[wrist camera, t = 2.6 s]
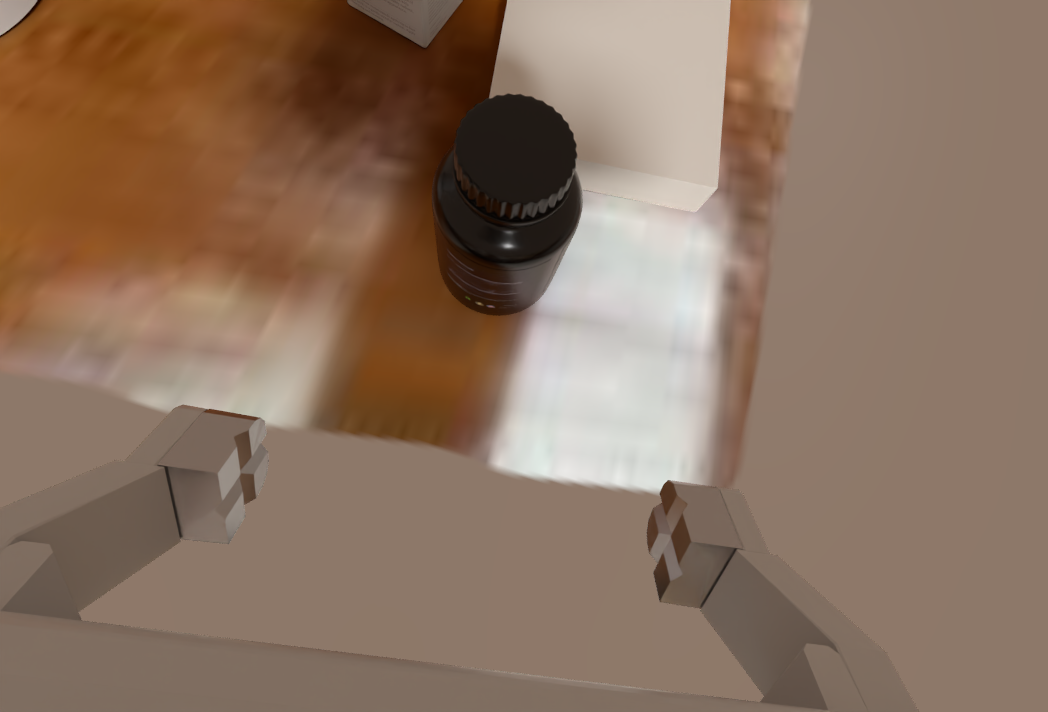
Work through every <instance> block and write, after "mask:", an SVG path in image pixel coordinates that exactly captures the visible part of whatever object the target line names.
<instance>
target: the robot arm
mask: <svg viewBox="0 0 1048 712" xmlns="http://www.w3.org/2000/svg"><path fill="white" fill-rule="evenodd" d="M36 2H37V0H0V35H2V34H3V33H5V32H6V31H8V30H9V29H10V28H12V27H13V26H14V25H15V24H17V23H18V22H19V21H20V20H21V19H22V18H23V17H24V16H25V15H26V14H27V13H28V12H29V11H30V10H31V8H32V7H33V6H34V5H35V3H36ZM265 436H266V426H265V421H264V420H263V419H261V418H258V417H253V416H247V415H241V414H236V413H230V412H224V411H219V410H213V409H204V408H198V407H193V406H187V405H181V406H178V407H176V408H174V409H173V410H172V411H171V412H170V413H169V414H168V416H167V417H166V418H165V419H164V420H163V421H162V422H161V423H160V424H159V425H158V426H157V427H156V428H155V429H154V430H153V431H152V432H151V434H149V435H148V437H147V438H146V439H145V440H144V441H143V442H142V443H141V444H140V445H139V446H138V447H137V448H136V449H135V450H134V451H133V452H132V453H131V455H129V457H128V458H127V459H126V460H125V461H119V460H114V461H112V462H110V463H107V464H105V465H102V466H100V467H98V468H95V469H93V470H90V471H88V472H86V473H83V474H81V475H79V476H76V477H74V478H71V479H69V480H66V481H64V482H62V483H59V484H57V485H54V486H53V487H50V488H47V489H45V490H43V491H40V492H38V493H35V494H33V495H31V496H28V497H26V498H23V499H21V500H18V501H16V502H14V503H11V504H9V505H7V506H4V507H2V508H0V712H919V710H918V709H917V707H916V705H915V703H914V702H913V700H912V698H911V696H910V695H909V693H908V691H907V689H906V687H905V685H904V684H903V682H902V680H901V678H900V677H899V675H898V673H897V671H896V669H895V667H894V666H893V664H892V662H891V660H890V658H889V657H888V655H887V653H886V652H885V651H884V650H883V649H882V648H881V647H880V646H879V645H877V644H876V643H875V642H874V641H873V640H872V639H871V638H870V637H868V636H867V635H866V634H865V633H864V632H863V631H862V630H861V629H860V628H858V627H857V626H856V625H855V624H854V623H853V622H852V621H851V620H849V619H848V618H847V617H846V616H845V615H844V614H843V613H842V612H840V611H839V610H838V609H837V608H836V607H835V606H834V605H833V604H832V603H830V602H829V601H828V600H827V599H826V598H825V597H824V596H822V595H821V594H820V593H819V592H818V591H817V590H816V589H815V588H814V587H812V586H811V585H810V584H809V583H808V582H807V581H806V580H805V579H803V578H802V577H801V576H800V575H799V574H798V573H797V572H796V571H795V570H793V569H792V568H791V567H790V566H789V565H788V564H787V563H786V562H784V561H783V560H782V559H781V558H780V557H779V556H778V555H773V554H770V553H769V550H768V548H767V546H766V544H765V541H764V539H763V537H762V535H761V532H760V530H759V528H758V526H757V524H756V522H755V519H754V517H753V515H752V513H751V511H750V508H749V506H748V504H747V501H746V499H745V497H744V495H743V493H742V492H740V491H739V490H737V489H730V488H722V487H712V486H705V485H699V484H692V483H685V482H678V481H671V480H668V481H667V482H666V483H665V484H664V485H663V487H662V489H661V492H660V496H661V500H662V503H661V504H659V505H658V506H656V507H655V508H653V510H652V512H651V515H650V517H649V520H648V527H647V545H648V550H649V554H650V555H651V556H652V557H653V558H654V560H655V561H656V562H657V563H658V564H657V566H656V568H655V570H654V573H653V574H654V578H655V583H656V587H657V592H658V596H659V601H660V602H663V603H669V604H676V605H681V606H687V607H694V608H700V609H701V610H700V611H701V612H702V614H704V616H705V618H706V619H707V620H708V622H709V623H710V624H711V626H712V627H713V628H714V630H715V631H716V632H717V634H718V635H719V636H720V637H721V639H722V640H723V642H724V643H725V644H726V646H727V647H728V648H729V650H730V651H731V652H732V654H733V655H734V656H735V658H736V659H737V660H738V662H739V663H740V664H741V666H742V667H743V668H744V670H745V671H746V672H747V674H748V675H749V677H750V678H751V679H752V680H753V682H754V683H755V685H756V686H757V687H758V689H759V690H760V691H761V692H762V694H763V695H764V697H763V699H762V700H761V701H760V702H754V701H746V700H737V699H729V698H721V697H713V696H704V695H696V694H687V693H679V692H671V691H663V690H654V689H646V688H637V687H629V686H620V685H612V684H604V683H595V682H587V681H579V680H570V679H561V678H554V677H545V676H537V675H528V674H519V673H511V672H503V671H495V670H486V669H478V668H470V667H462V666H453V665H445V664H436V663H429V662H420V661H412V660H404V659H396V658H387V657H378V656H371V655H362V654H354V653H346V652H338V651H330V650H321V649H313V648H305V647H296V646H288V645H280V644H271V643H264V642H255V641H246V640H239V639H230V638H221V637H213V636H205V635H197V634H188V633H180V632H172V631H163V630H156V629H147V628H139V627H131V626H122V625H113V624H106V623H97V622H89V621H82V620H81V617H80V615H79V613H78V612H79V611H81V610H82V609H84V608H85V607H87V606H88V605H89V604H91V603H92V602H94V601H95V600H97V599H98V598H100V597H101V596H102V595H104V594H105V593H107V592H108V591H110V590H111V589H113V588H114V587H116V586H117V585H118V584H120V583H121V582H123V581H124V580H126V579H127V578H129V577H130V576H132V575H133V574H134V573H136V572H137V571H139V570H140V569H142V568H143V567H145V566H146V565H147V564H149V563H150V562H152V561H153V560H155V559H156V558H157V557H159V556H161V555H162V554H163V553H165V552H166V551H168V550H169V549H171V548H172V547H174V546H175V545H177V544H178V543H179V542H180V539H184V540H193V541H203V542H213V543H222V544H229V543H230V541H231V539H232V538H233V536H234V534H235V533H236V531H237V529H238V528H239V526H240V524H241V523H242V521H243V519H244V518H245V508H244V505H245V504H247V503H249V502H250V501H252V500H254V499H255V498H256V497H257V496H258V494H259V492H260V490H261V488H262V487H263V484H264V481H265V478H266V475H267V470H268V462H269V460H268V451H267V450H266V449H265V447H264V446H263V445H262V444H261V442H262V440H263V439H264V437H265Z"/></svg>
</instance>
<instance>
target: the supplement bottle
mask: <svg viewBox="0 0 1048 712" xmlns="http://www.w3.org/2000/svg"><path fill="white" fill-rule="evenodd" d="M576 147H577V144H576V142H575V140H574V133H573V132H572V131H571V130H570V128H569V124H568V123H567V122H566V121H565V120H564V119H563V117H562V115H561V114H560V113H558V112H556V111H555V109H554V108H553V107H552V106H549V105H547V104H546V103H545V102H544V101H542V100H537V99H535V98H534V97H532V96H524V95H522V94H516V95H513V94H509V93H508V94H505V95H496V96H494V97H493V98H487V99H485V100H484V101H483V102H482V103H478V104H476V105H475V106H474V108H473V109H472V110H469V111H468V112H467V114H466V117H464V118H463V119H462V120H461V122H460V127H459V128H458V129H457V131H456V139H455V141H454V145H453V146H452V147H451V148H450V149H449V150H448V151H447V153H446V154H445V155H444V157H443V158H442V160H441V161H440V163H439V165H438V168H437V170H436V173H435V176H434V180H433V186H432V207H433V216H434V226H435V235H436V244H437V253H438V261H439V267H440V272H441V275H442V278H443V280H444V282H445V284H446V286H447V288H448V289H449V291H450V292H451V293H452V295H453V296H454V297H455V298H456V299H457V300H458V301H460V302H461V303H462V304H464V305H465V306H466V307H468V308H470V309H472V310H474V311H477V312H480V313H483V314H487V315H498V316H500V315H509V314H514V313H517V312H520V311H522V310H524V309H526V308H528V307H530V306H531V305H533V304H534V303H535V302H536V301H537V300H539V299H540V297H541V296H542V295H543V294H544V293H545V291H546V290H547V288H548V286H549V285H550V283H551V281H552V279H553V277H554V275H555V273H556V271H557V269H558V267H559V265H560V262H561V260H562V258H563V256H564V254H565V252H566V250H567V248H568V246H569V244H570V242H571V240H572V238H573V236H574V233H575V231H576V229H577V226H578V223H579V220H580V217H581V212H582V204H583V199H582V188H581V184H580V180H579V177H578V174H577V172H576V170H575V169H576V160H577V152H576Z"/></svg>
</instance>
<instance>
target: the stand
mask: <svg viewBox="0 0 1048 712" xmlns="http://www.w3.org/2000/svg"><path fill="white" fill-rule="evenodd" d="M730 3H731V0H507V5H506V11H505V16H504V21H503V26H502V32H501V37H500V42H499V48H498V53H497V58H496V64H495V69H494V74H493V80H492V85H491V90H490V96H489V98H493V97H494V96H496V95H505V94H508V93H509V94H513V95H516V94H522V95H524V96H532V97H534V98H535V99H537V100H542V101H544V102H545V103H546V104H547V105H549V106H552V107H553V108H554V109H555V111H556V112H558V113H560V114H561V115H562V117H563V119H564V120H565V121H566V122H567V123H568V124H569V128H570V130H571V131H572V132H573V133H574V140H575V142H576V144H577V147H576V152H577V160H576V169H575V170H576V172H577V174H578V177H579V180H580V184H581V188H582V189H583V190H587V191H592V192H597V193H602V194H607V195H612V196H617V197H622V198H627V199H632V200H637V201H641V202H646V203H651V204H656V205H661V206H666V207H671V208H676V209H681V210H686V211H691V212H696V211H697V210H698V209H699V208H700V207H701V206H702V205H703V204H704V202H705V201H706V200H707V199H708V198H709V197H710V196H711V195H712V194H713V193H714V192H715V191H716V189H717V188H718V174H719V160H720V146H721V132H722V117H723V103H724V89H725V74H726V60H727V46H728V31H729V17H730Z"/></svg>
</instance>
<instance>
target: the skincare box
mask: <svg viewBox="0 0 1048 712" xmlns="http://www.w3.org/2000/svg"><path fill="white" fill-rule="evenodd" d="M462 1H463V0H347V2H348V4H349V5H351V6H352V7H354V8H356V9H358V10H360V11H361V12H363V13H365V14H366V15H368V16H370V17H372V18H373V19H375V20H377V21H379V22H380V23H382V24H384V25H386V26H387V27H389V28H391V29H393V30H394V31H396V32H398V33H399V34H401V35H403V36H405V37H406V38H408V39H410V40H412V41H413V42H415V43H417V44H419V45H420V46H422V47H424V48H426V47H427V46H428V45H429V44H430V42H431V41H432V40H433V38H434V37H435V36H436V35H437V33H438V32H439V31H440V29H441V28H442V27H443V25H444V24H445V23H446V22H447V20H448V19H449V18H450V16H451V15H452V14H453V13H454V11H455V10H456V9H457V7H458V6H459V5H460V3H461V2H462Z"/></svg>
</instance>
